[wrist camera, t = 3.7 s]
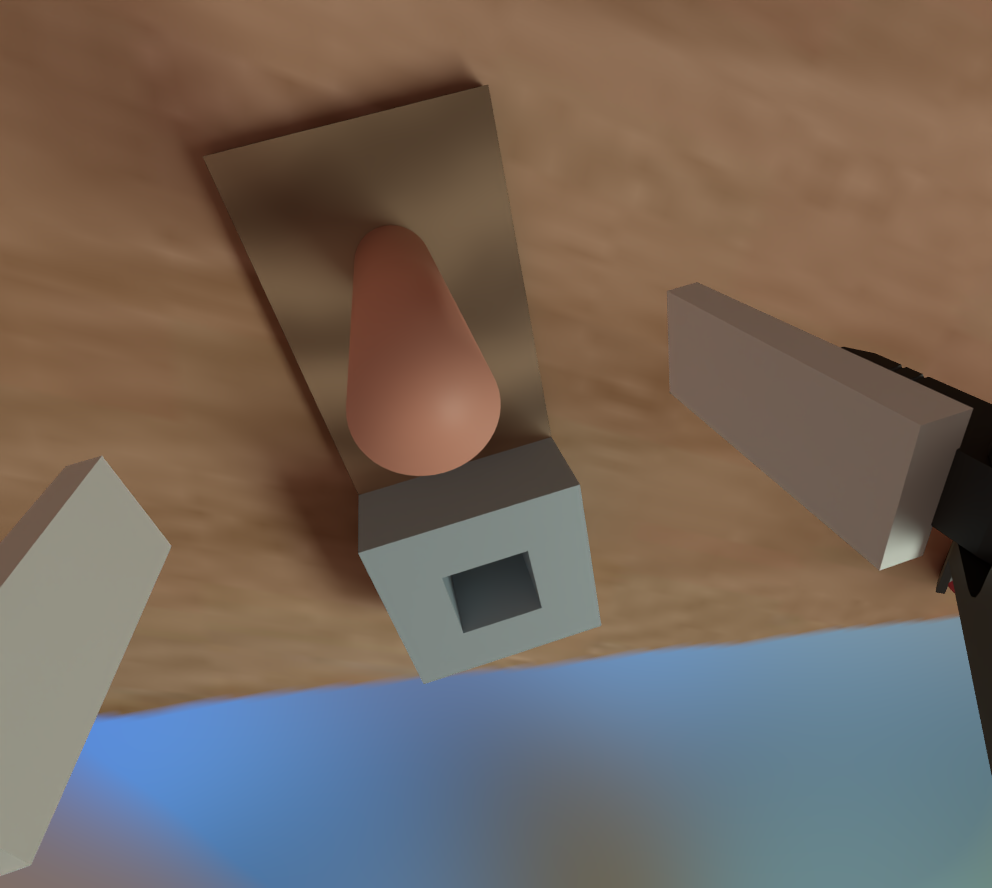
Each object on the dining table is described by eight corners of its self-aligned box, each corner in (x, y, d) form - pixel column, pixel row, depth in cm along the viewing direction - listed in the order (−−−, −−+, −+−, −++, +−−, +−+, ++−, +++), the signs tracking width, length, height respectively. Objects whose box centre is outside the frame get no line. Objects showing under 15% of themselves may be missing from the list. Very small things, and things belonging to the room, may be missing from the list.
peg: (342, 236, 24) (321, 365, 11) (419, 216, 24) (482, 319, 11) (369, 312, 26) (376, 493, 13) (440, 292, 26) (513, 451, 13)
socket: (358, 495, 31) (357, 553, 27) (551, 437, 32) (579, 484, 28) (417, 621, 38) (423, 684, 33) (575, 571, 38) (601, 625, 34)
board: (208, 155, 22) (202, 156, 21) (483, 85, 23) (488, 84, 22) (415, 610, 38) (417, 621, 38) (570, 561, 39) (575, 571, 38)
